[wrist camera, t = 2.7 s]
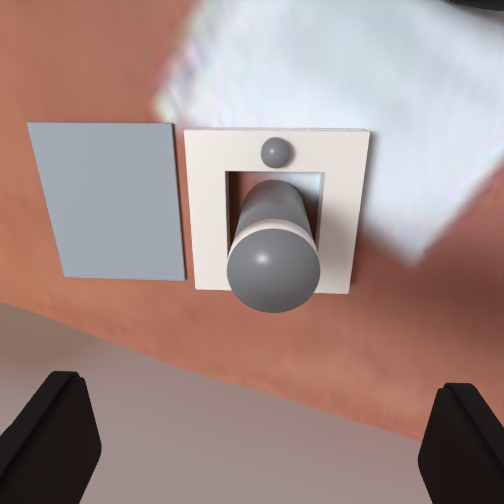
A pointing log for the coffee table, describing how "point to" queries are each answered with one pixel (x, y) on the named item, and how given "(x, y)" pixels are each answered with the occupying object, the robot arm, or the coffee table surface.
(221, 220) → the frame
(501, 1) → the controller
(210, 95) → the coffee table surface
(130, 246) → the mat
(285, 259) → the cartridge
